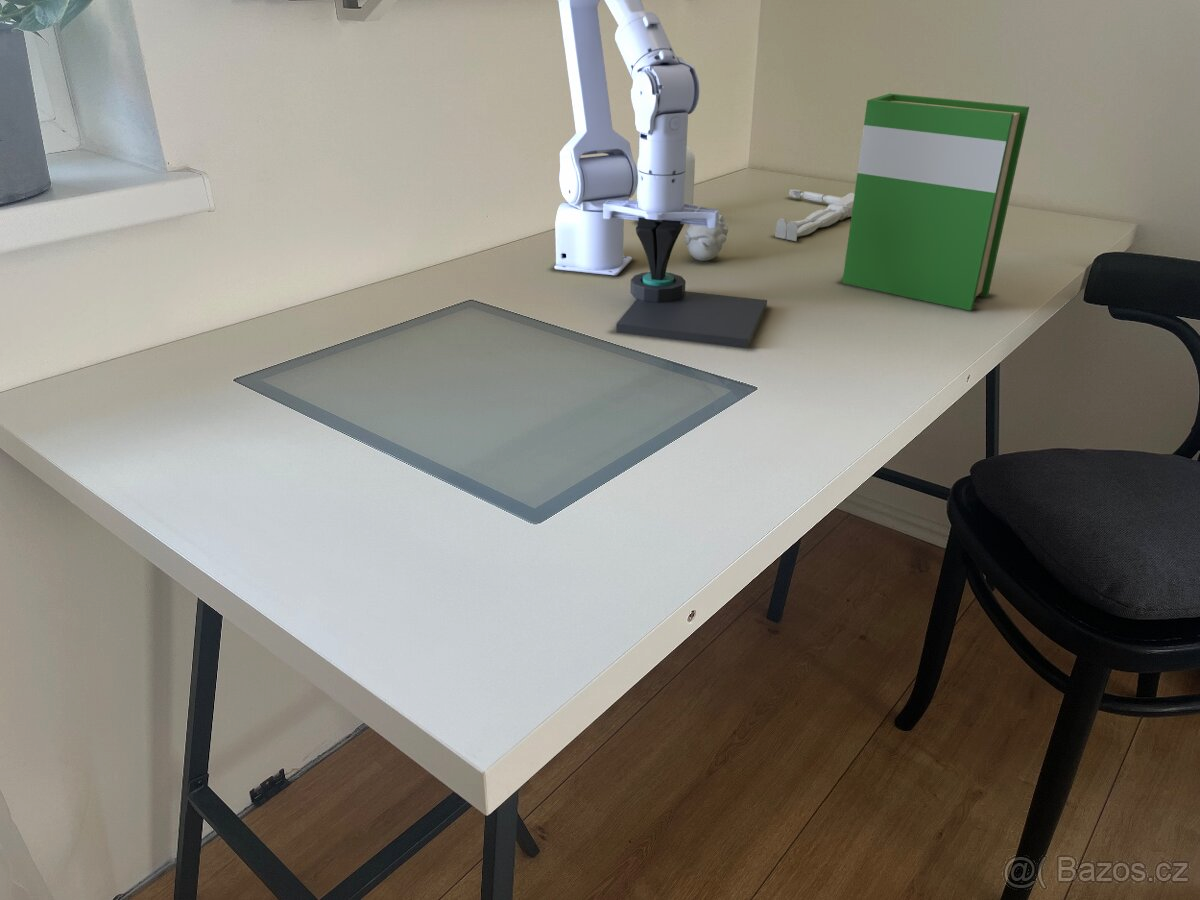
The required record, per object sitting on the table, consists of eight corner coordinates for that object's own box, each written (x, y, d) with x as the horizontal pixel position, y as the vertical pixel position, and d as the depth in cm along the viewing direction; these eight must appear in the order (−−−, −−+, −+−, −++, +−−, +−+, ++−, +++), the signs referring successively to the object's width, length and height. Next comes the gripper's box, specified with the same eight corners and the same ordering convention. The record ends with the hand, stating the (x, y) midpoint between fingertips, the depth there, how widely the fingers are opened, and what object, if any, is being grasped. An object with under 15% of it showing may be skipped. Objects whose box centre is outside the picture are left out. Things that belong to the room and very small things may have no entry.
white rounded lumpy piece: (735, 258, 138) (738, 212, 134) (705, 269, 133) (708, 221, 130) (703, 250, 141) (706, 204, 138) (673, 260, 137) (675, 213, 134)
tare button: (638, 295, 119) (639, 280, 118) (646, 286, 123) (647, 271, 122) (668, 299, 118) (669, 283, 117) (676, 289, 122) (676, 274, 121)
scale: (604, 331, 112) (604, 307, 111) (639, 291, 125) (639, 269, 124) (747, 348, 107) (749, 324, 106) (768, 305, 120) (770, 283, 119)
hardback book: (988, 295, 124) (1029, 106, 112) (970, 310, 119) (1011, 114, 107) (863, 270, 133) (889, 93, 122) (842, 283, 128) (867, 100, 116)
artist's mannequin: (715, 205, 153) (809, 170, 172) (714, 227, 155) (807, 190, 174) (866, 236, 137) (950, 194, 156) (863, 261, 139) (947, 216, 158)
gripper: (595, 173, 112) (595, 281, 118) (713, 181, 108) (706, 293, 114) (612, 161, 117) (611, 265, 124) (725, 169, 114) (718, 276, 120)
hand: (658, 277), depth 120 cm, fingers closed, pressing on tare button
